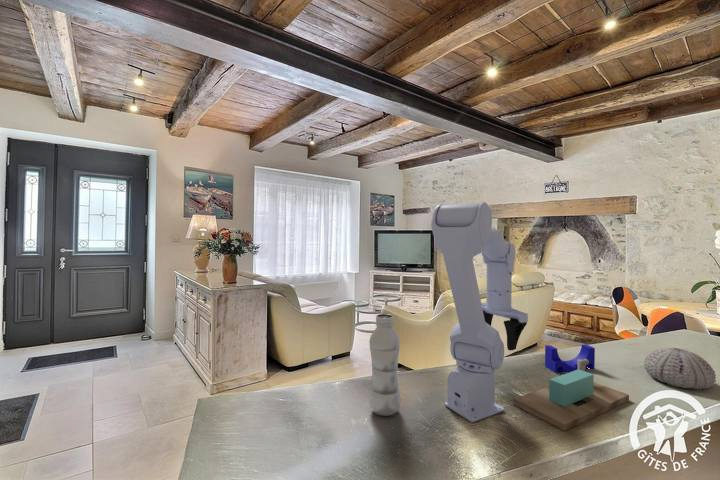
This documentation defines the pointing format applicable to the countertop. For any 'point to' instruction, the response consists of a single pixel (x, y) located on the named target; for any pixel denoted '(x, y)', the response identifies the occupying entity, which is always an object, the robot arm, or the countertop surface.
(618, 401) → the slotted wooden board
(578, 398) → the teal rectangular block
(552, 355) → the blue concave arch block
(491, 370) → the robot arm
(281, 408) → the countertop surface
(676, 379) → the sea urchin shell
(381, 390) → the plastic bottle
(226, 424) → the countertop surface
